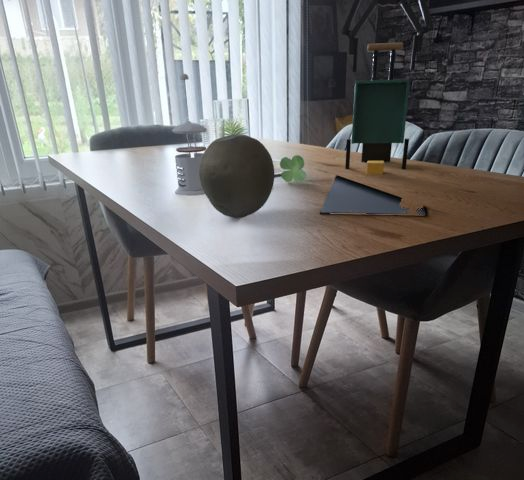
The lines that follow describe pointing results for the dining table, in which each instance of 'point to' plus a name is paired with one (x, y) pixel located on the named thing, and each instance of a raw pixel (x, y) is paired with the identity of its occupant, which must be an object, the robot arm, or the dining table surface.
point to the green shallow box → (380, 103)
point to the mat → (361, 199)
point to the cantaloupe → (237, 175)
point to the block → (375, 167)
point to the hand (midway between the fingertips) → (383, 71)
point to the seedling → (293, 169)
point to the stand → (376, 152)
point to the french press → (189, 157)
